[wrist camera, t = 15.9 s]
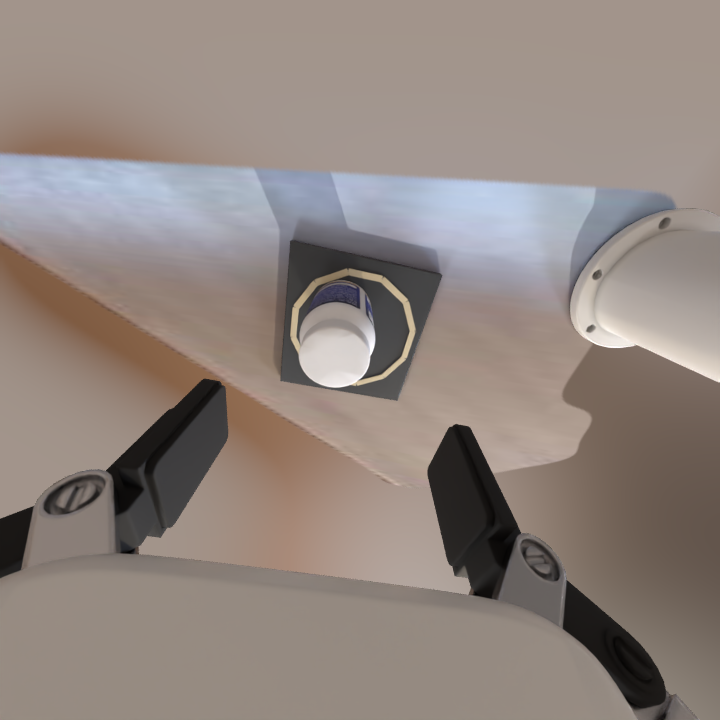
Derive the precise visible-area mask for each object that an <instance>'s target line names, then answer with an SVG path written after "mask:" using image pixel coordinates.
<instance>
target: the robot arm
mask: <svg viewBox="0 0 720 720" xmlns="http://www.w3.org/2000/svg"><path fill="white" fill-rule="evenodd" d="M570 314H571V321H572V323H573V325H574V327H575V329H576V330H577V331H578V333H579V334H580V335H581V336H583V337H584V338H586V339H587V340H589V341H591V342H593V343H595V344H597V345H600V346H605V347H609V348H622V347H629V346H634V345H639V346H641V347H643V348H645V349H648V350H650V351H652V352H654V353H656V354H658V355H661V356H663V357H665V358H667V359H669V360H671V361H674V362H676V363H678V364H680V365H682V366H684V367H687V368H689V369H691V370H693V371H695V372H698V373H700V374H702V375H704V376H706V377H709V378H710V379H713V380H715V381H717V382H719V383H720V217H719V216H718V215H716V214H714V213H712V212H710V211H707V210H701V209H694V208H690V209H672V210H666V211H661V212H658V213H655V214H652V215H649V216H647V217H644V218H642V219H640V220H638V221H636V222H634V223H632V224H631V225H629V226H627V227H626V228H624V229H623V230H621V231H620V232H619V233H617V234H616V235H614V236H613V237H612V238H611V239H610V240H609V241H608V242H606V243H605V244H604V245H603V246H602V247H601V248H600V249H599V250H598V251H597V252H596V254H595V255H594V256H593V257H592V258H591V259H590V260H589V262H588V263H587V265H586V266H585V268H584V269H583V271H582V272H581V274H580V276H579V278H578V280H577V282H576V284H575V287H574V290H573V293H572V297H571V303H570ZM227 438H228V423H227V406H226V390H225V386H222V385H221V382H220V381H215V380H209V379H203V380H202V381H201V382H199V384H197V386H195V388H193V389H192V391H190V392H189V393H188V394H187V395H186V396H185V397H184V398H183V399H182V400H181V401H180V402H179V403H178V404H177V405H176V406H175V407H174V408H172V409H169V410H168V411H167V412H166V413H165V414H164V415H163V416H162V417H160V419H158V420H157V422H155V423H154V424H153V425H152V426H151V427H150V428H149V429H148V430H147V431H146V432H145V433H144V434H143V435H142V436H141V437H140V438H139V439H138V440H137V441H136V442H135V443H134V444H133V445H132V446H131V447H130V448H129V449H128V450H127V451H126V452H125V453H124V454H122V455H121V457H119V458H118V459H117V460H116V461H115V462H114V463H113V464H112V465H111V466H110V467H109V468H108V469H107V470H106V471H103V470H99V469H98V470H86V471H81V472H78V473H75V474H72V475H70V476H67V477H65V478H63V479H61V480H60V481H58V482H56V483H54V484H53V485H52V486H50V487H49V488H48V489H47V490H45V491H44V492H43V493H42V495H41V496H40V497H39V498H38V499H37V501H36V503H35V506H33V507H30V508H27V509H25V510H22V511H19V512H17V513H14V514H12V515H9V516H6V517H4V518H1V519H0V720H699V719H698V718H697V717H696V716H695V715H694V714H693V712H691V710H690V709H689V708H688V707H687V706H686V705H685V704H684V703H683V701H682V700H681V699H680V698H679V697H678V696H677V695H676V694H674V695H670V694H669V693H668V692H667V691H666V689H665V685H664V681H663V679H662V677H661V674H660V672H659V670H658V668H657V667H656V665H655V664H654V662H653V660H652V659H651V657H650V656H649V654H648V653H647V652H646V651H645V649H644V648H643V647H642V646H641V645H640V644H639V642H637V641H636V640H635V639H634V638H633V637H632V636H631V635H630V634H629V633H628V632H627V631H626V630H625V629H623V628H622V627H621V626H620V625H619V624H618V623H616V622H615V621H614V620H613V619H612V618H611V617H609V616H608V615H607V614H606V613H605V612H603V611H602V610H601V609H600V608H599V607H598V606H597V605H595V604H594V603H593V602H592V601H591V600H590V599H588V598H587V597H586V596H585V595H584V594H583V593H581V592H580V591H579V590H578V589H577V588H575V587H574V586H573V585H572V584H571V583H570V582H568V581H567V578H566V571H565V569H564V566H563V564H562V562H561V560H560V559H559V557H558V556H557V554H556V553H555V552H554V551H553V550H552V548H551V547H550V546H549V545H547V544H546V543H545V542H544V541H542V540H541V539H540V538H538V537H536V536H534V535H531V534H529V533H522V534H521V532H520V530H519V528H518V525H517V523H516V521H515V519H514V517H513V514H512V512H511V510H510V508H509V506H508V504H507V502H506V500H505V498H504V496H503V494H502V492H501V490H500V488H499V486H498V484H497V482H496V480H495V477H494V475H493V473H492V471H491V469H490V467H489V465H488V463H487V461H486V459H485V457H484V455H483V453H482V451H481V449H480V447H479V445H478V442H477V440H476V438H475V436H474V434H473V432H472V430H471V428H470V427H468V426H463V425H458V424H455V425H453V427H449V428H448V430H447V432H446V434H445V436H444V438H443V440H442V442H441V444H440V446H439V448H438V449H437V451H436V453H435V455H434V457H433V459H432V461H431V463H430V465H429V467H428V472H427V473H428V479H429V483H430V488H431V492H432V496H433V500H434V505H435V509H436V514H437V518H438V522H439V526H440V530H441V535H442V539H443V544H444V548H445V552H446V557H447V560H448V562H449V564H450V565H451V566H453V571H454V575H455V576H457V577H465V578H468V579H469V582H470V586H471V590H470V592H469V595H465V594H459V593H452V592H446V591H439V590H431V589H424V588H416V587H409V586H401V585H394V584H386V583H378V582H371V581H363V580H354V579H347V578H339V577H332V576H324V575H316V574H308V573H299V572H292V571H284V570H276V569H268V568H259V567H251V566H243V565H234V564H226V563H218V562H209V561H201V560H192V559H182V558H172V557H162V556H152V555H141V554H139V547H138V546H140V545H141V544H142V543H143V541H144V540H145V538H146V537H147V536H152V537H159V538H161V536H162V535H163V533H164V531H165V530H166V529H167V528H170V527H172V526H173V525H174V524H175V523H176V521H177V519H178V518H179V516H180V515H181V513H182V511H183V510H184V508H185V507H186V505H187V503H188V502H189V500H190V499H191V497H192V495H193V494H194V492H195V490H196V489H197V487H198V486H199V484H200V483H201V481H202V480H203V478H204V476H205V475H206V473H207V472H208V470H209V468H210V467H211V465H212V463H213V462H214V460H215V458H216V457H217V455H218V454H219V452H220V450H221V449H222V448H223V446H224V444H225V443H226V441H227Z"/></svg>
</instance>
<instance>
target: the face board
mask: <svg viewBox="0 0 720 720" xmlns="http://www.w3.org/2000/svg"><path fill="white" fill-rule="evenodd" d="M441 277H442V275H441V274H439V273H435V272H430V271H426V270H421V269H417V268H413V267H408V266H404V265H399V264H395V263H390V262H386V261H382V260H377V259H373V258H368V257H364V256H360V255H355V254H351V253H346V252H342V251H338V250H333V249H329V248H324V247H320V246H315V245H311V244H307V243H302V242H298V241H293V240H292V241H290V255H289V269H288V283H287V297H286V311H285V325H284V338H283V352H282V366H281V381H284V382H290V383H296V384H302V385H307V386H313V387H319V388H325V389H331V390H337V391H343V392H349V393H355V394H361V395H367V396H372V397H378V398H384V399H390V400H396V401H398V398H399V395H400V392H401V390H402V387H403V384H404V381H405V378H406V376H407V373H408V370H409V367H410V364H411V362H412V359H413V356H414V353H415V350H416V347H417V345H418V342H419V339H420V336H421V333H422V331H423V328H424V325H425V322H426V319H427V317H428V314H429V311H430V308H431V305H432V303H433V300H434V297H435V294H436V291H437V289H438V286H439V283H440V280H441ZM337 280H345V281H349V282H352V283H355V284H356V285H358V286H359V287H361V288H362V289H363V290H364V291H365V293H366V294H367V296H368V298H369V300H370V303H371V308H372V315H373V322H374V329H375V346H374V349H373V352H372V354H371V356H370V363H369V367H368V369H367V371H366V373H365V374H364V375H363V377H362V378H361V379H359V380H358V381H357V382H355V383H353V384H351V385H348V386H345V387H336V388H334V387H327V386H323V385H320V384H318V383H316V382H314V381H313V380H312V379H310V378H309V377H308V376H307V375H306V374H305V372H304V371H303V369H302V367H301V365H300V362H299V349H300V346H301V344H300V328H301V325H302V322H303V320H304V318H305V316H306V314H307V312H308V310H309V308H310V305H311V303H312V301H313V299H314V297H315V295H316V293H317V292H318V291H319V290H320V289H321V288H322V287H323V286H324V285H326V284H327V283H330V282H332V281H337Z"/></svg>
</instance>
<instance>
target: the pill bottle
mask: <svg viewBox="0 0 720 720" xmlns="http://www.w3.org/2000/svg"><path fill="white" fill-rule="evenodd" d="M300 344H301V346H300V349H299V362H300V365H301V367H302V369H303V371H304V372H305V374H306V375H307V376H308V377H309V378H310V379H312V380H313V381H314V382H316V383H318V384H320V385H323V386H327V387H334V388H336V387H345V386H348V385H351V384H353V383H355V382H357V381H358V380H359V379H361V378H362V377H363V375H364V374H365V373H366V371H367V369H368V367H369V363H370V356H371V354H372V352H373V349H374V346H375V329H374V322H373V315H372V308H371V303H370V300H369V298H368V296H367V294H366V293H365V291H364V290H363V289H362V288H361V287H359V286H358V285H356V284H355V283H352V282H349V281H345V280H337V281H332V282H330V283H327V284H326V285H324V286H323V287H322V288H321V289H320V290H319V291H318V292H317V293H316V295H315V297H314V299H313V301H312V303H311V305H310V308H309V310H308V312H307V314H306V316H305V318H304V320H303V322H302V325H301V328H300Z"/></svg>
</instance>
